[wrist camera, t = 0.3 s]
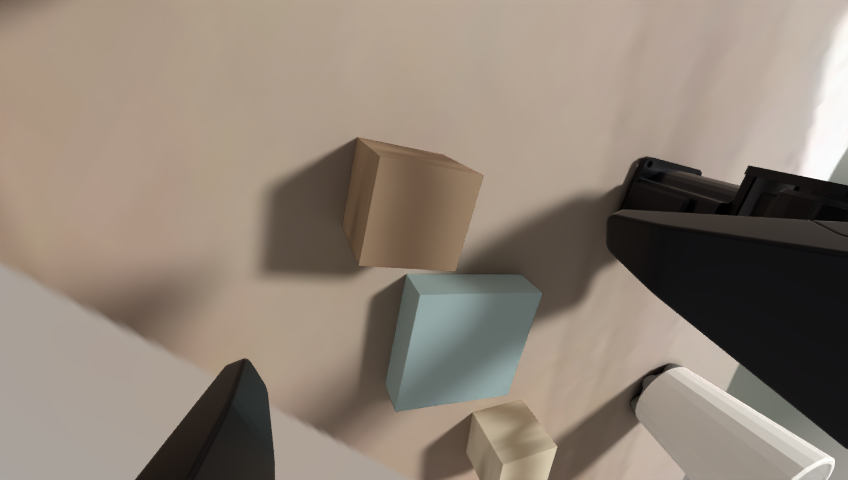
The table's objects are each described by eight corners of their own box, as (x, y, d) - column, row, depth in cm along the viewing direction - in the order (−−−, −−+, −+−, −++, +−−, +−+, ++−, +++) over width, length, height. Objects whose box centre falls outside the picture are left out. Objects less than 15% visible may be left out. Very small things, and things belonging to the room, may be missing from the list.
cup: (620, 379, 38) (759, 503, 27) (694, 338, 40) (851, 439, 29) (619, 435, 43) (736, 559, 32) (684, 396, 45) (816, 501, 34)
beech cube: (521, 398, 33) (557, 446, 29) (512, 437, 35) (544, 487, 31) (472, 411, 32) (502, 464, 27) (465, 451, 34) (493, 506, 29)
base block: (517, 271, 27) (542, 292, 25) (487, 367, 31) (507, 395, 28) (404, 270, 24) (420, 294, 21) (383, 379, 27) (395, 411, 25)
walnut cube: (441, 154, 21) (483, 175, 17) (422, 233, 23) (455, 271, 19) (357, 136, 19) (380, 156, 15) (341, 225, 21) (358, 265, 17)
